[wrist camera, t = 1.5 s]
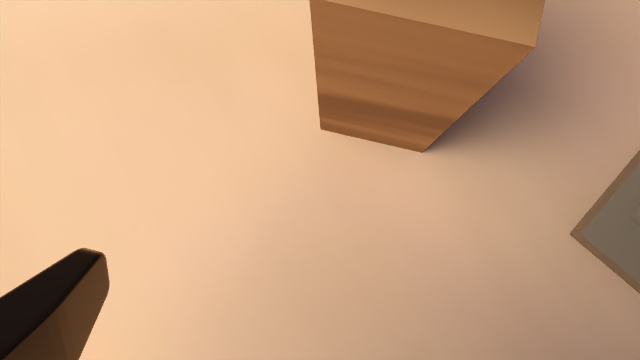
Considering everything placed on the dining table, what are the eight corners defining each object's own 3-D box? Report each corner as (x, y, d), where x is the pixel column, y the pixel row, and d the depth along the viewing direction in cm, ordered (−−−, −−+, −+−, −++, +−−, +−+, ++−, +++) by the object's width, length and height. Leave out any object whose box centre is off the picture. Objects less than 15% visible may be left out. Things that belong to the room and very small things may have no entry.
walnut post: (421, 152, 23) (535, 46, 10) (320, 129, 24) (309, -3, 11) (443, 54, 24) (578, -164, 11) (344, 31, 24) (360, -209, 11)
